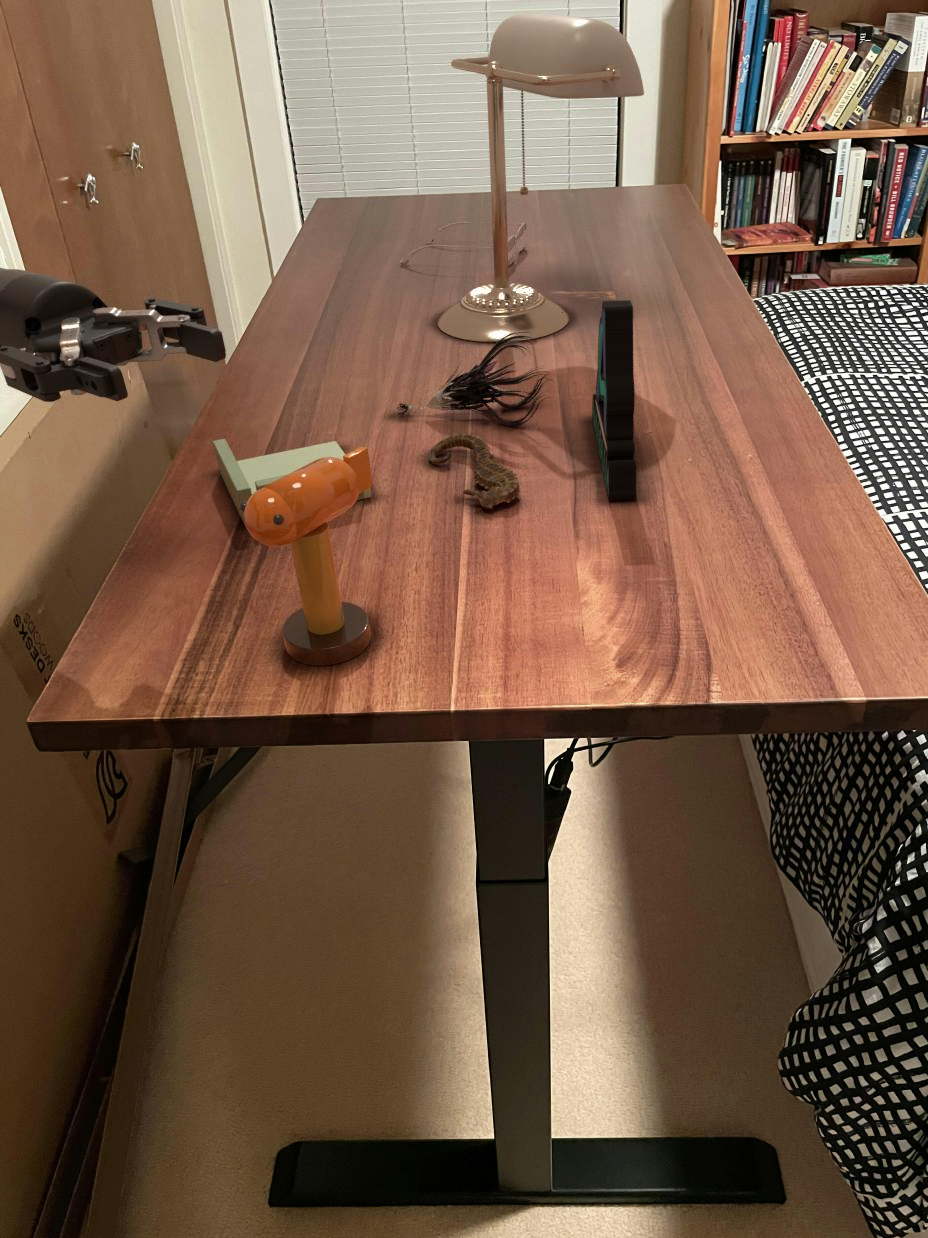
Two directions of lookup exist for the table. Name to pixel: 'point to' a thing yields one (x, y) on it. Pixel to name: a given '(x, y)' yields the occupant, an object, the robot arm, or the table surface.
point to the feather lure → (484, 387)
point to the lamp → (545, 65)
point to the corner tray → (268, 468)
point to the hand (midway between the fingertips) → (172, 365)
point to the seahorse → (481, 470)
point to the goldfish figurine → (314, 553)
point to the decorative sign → (616, 400)
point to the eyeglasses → (510, 245)
